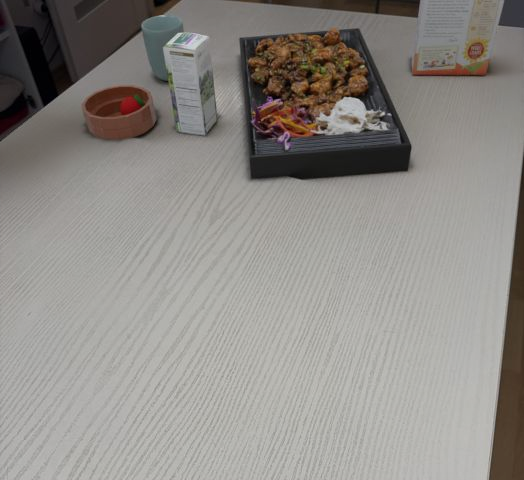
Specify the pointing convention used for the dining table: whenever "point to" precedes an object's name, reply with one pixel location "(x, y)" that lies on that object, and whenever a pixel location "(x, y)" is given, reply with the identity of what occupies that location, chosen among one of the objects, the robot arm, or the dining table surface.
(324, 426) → the dining table surface
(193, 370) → the dining table surface
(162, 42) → the cup
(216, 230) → the dining table surface
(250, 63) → the food platter
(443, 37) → the cracker box
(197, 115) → the syrup box
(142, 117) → the bowl
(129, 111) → the strawberry
